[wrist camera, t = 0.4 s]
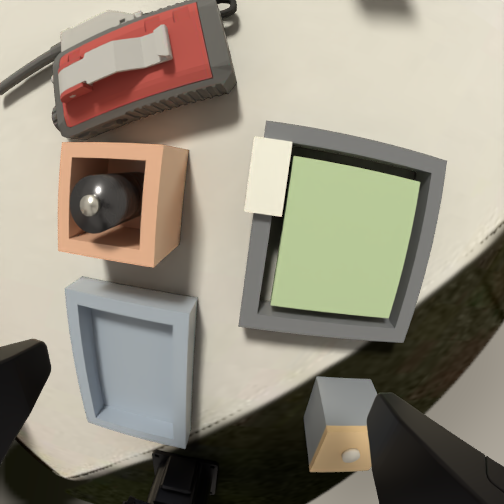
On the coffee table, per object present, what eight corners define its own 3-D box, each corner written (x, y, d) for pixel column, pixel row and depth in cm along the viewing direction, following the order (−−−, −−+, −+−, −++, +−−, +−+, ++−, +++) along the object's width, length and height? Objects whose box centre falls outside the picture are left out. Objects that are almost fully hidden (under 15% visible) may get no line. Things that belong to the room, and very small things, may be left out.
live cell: (353, 418, 24) (369, 474, 17) (303, 417, 24) (310, 476, 17) (370, 379, 22) (394, 434, 16) (316, 376, 22) (328, 436, 16)
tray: (191, 428, 25) (185, 448, 22) (98, 405, 25) (87, 422, 22) (197, 297, 21) (189, 313, 19) (82, 276, 21) (64, 288, 19)
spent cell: (154, 218, 19) (112, 238, 14) (115, 213, 19) (65, 231, 14) (158, 173, 19) (115, 177, 13) (118, 170, 19) (66, 174, 13)
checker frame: (392, 327, 21) (405, 346, 19) (233, 310, 21) (229, 329, 19) (430, 160, 18) (451, 160, 15) (258, 124, 18) (256, 118, 16)
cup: (179, 244, 20) (153, 267, 15) (98, 232, 20) (58, 250, 15) (188, 150, 19) (163, 144, 14) (104, 145, 19) (62, 142, 14)
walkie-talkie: (231, -15, 16) (6, 83, 18) (223, -50, 12) (-28, 76, 14) (258, 91, 18) (15, 176, 20) (256, 71, 14) (-22, 181, 16)
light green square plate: (384, 313, 19) (388, 318, 19) (270, 299, 19) (270, 305, 19) (414, 181, 17) (420, 182, 16) (292, 156, 17) (293, 155, 16)
